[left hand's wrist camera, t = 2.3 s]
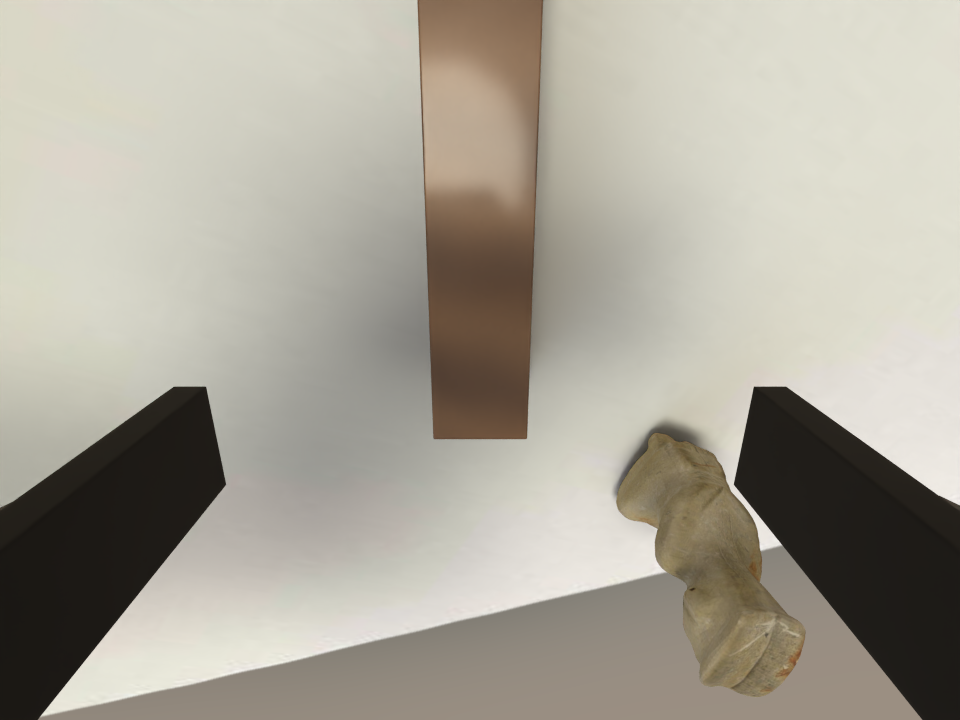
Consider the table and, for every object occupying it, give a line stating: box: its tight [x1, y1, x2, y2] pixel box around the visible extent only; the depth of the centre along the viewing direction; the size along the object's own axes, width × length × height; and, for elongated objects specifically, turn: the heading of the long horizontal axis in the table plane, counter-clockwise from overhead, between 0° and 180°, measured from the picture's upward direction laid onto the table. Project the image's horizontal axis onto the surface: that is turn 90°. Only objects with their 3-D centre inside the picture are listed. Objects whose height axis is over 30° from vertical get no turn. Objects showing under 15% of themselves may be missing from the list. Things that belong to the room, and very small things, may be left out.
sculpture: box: [616, 433, 805, 697], centre depth 30 cm, size 6×7×15 cm
